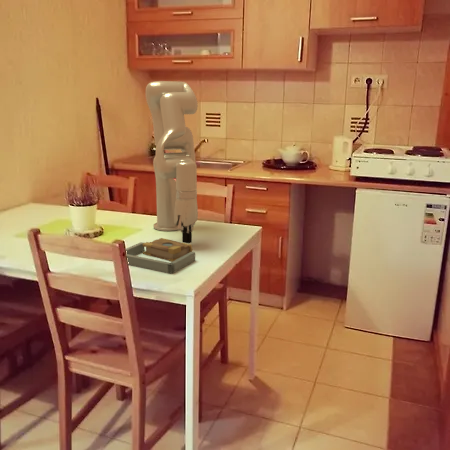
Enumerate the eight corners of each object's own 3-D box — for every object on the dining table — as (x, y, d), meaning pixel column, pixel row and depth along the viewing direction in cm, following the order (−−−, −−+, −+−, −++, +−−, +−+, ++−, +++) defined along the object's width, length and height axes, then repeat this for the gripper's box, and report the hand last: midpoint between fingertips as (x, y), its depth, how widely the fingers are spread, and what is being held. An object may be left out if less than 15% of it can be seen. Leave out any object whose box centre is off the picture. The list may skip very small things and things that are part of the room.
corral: (141, 250, 178) (140, 242, 177) (195, 260, 168) (195, 252, 167) (115, 261, 165) (114, 253, 164) (171, 273, 155) (171, 264, 154)
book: (142, 255, 174) (142, 241, 172) (163, 247, 182) (162, 234, 181) (174, 263, 166) (173, 249, 164) (193, 254, 175) (193, 241, 173)
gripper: (188, 190, 187) (188, 236, 192) (166, 197, 174) (167, 246, 179) (205, 192, 183) (205, 238, 188) (184, 199, 171) (185, 249, 175)
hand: (187, 242), depth 183 cm, fingers closed
